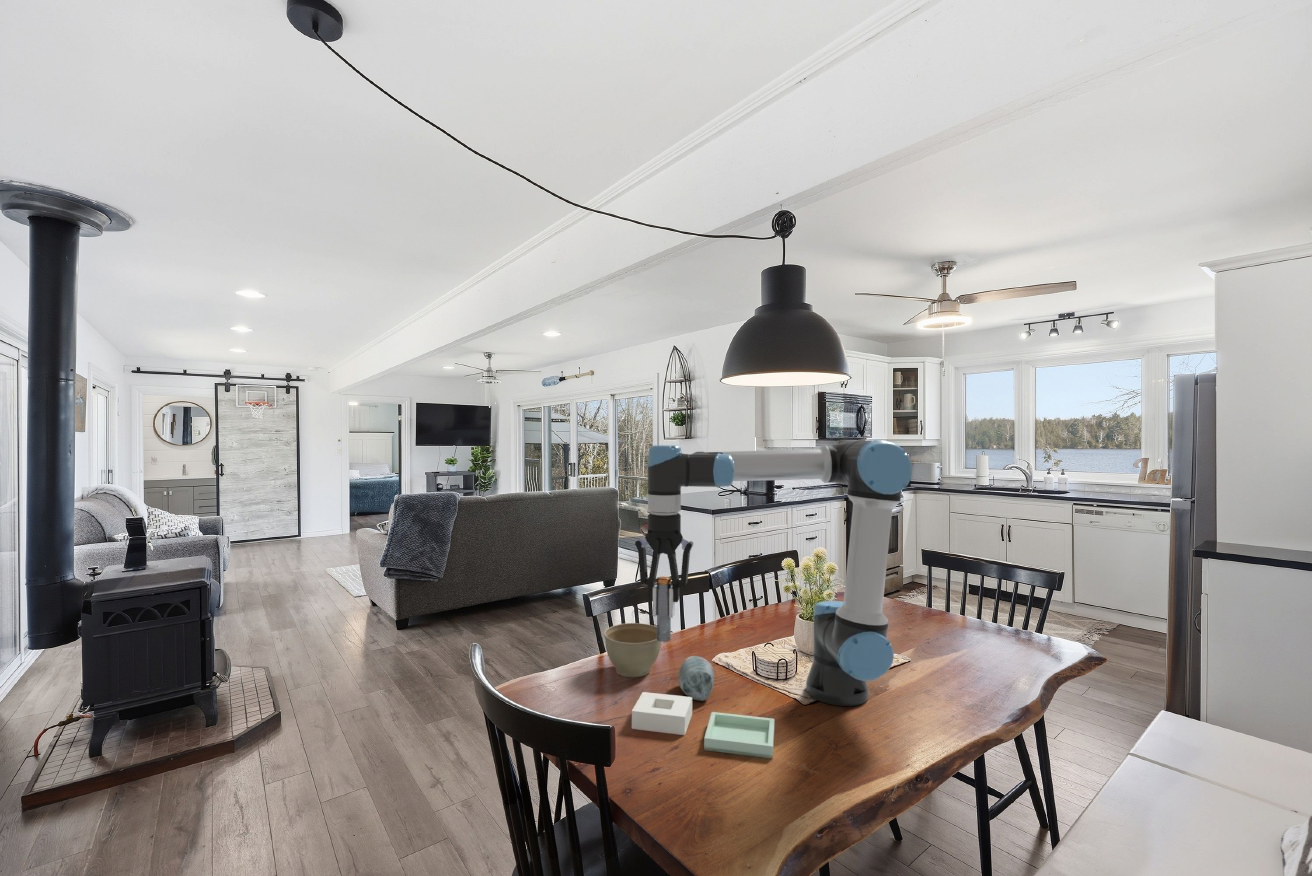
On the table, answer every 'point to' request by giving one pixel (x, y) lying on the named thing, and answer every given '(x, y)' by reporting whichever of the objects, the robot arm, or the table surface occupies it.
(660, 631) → the pin
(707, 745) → the tray
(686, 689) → the blue-grey stone
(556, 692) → the table surface
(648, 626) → the planter bowl
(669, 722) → the socket block
